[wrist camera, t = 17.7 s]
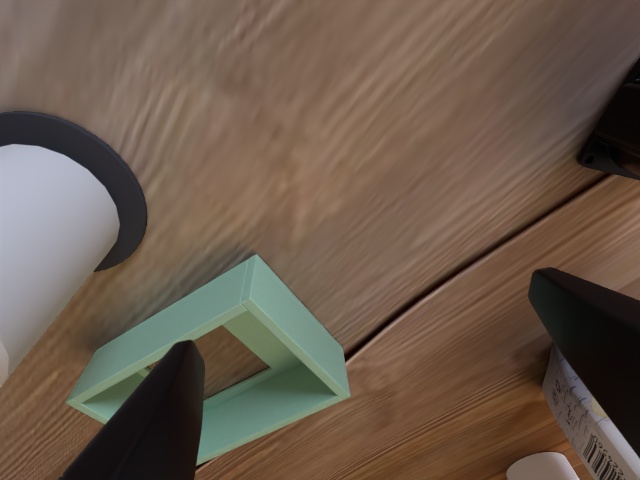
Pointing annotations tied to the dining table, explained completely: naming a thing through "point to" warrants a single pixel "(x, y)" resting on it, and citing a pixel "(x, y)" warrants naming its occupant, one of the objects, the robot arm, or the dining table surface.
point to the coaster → (92, 157)
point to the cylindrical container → (542, 468)
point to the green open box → (253, 331)
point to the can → (45, 242)
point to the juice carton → (587, 424)
